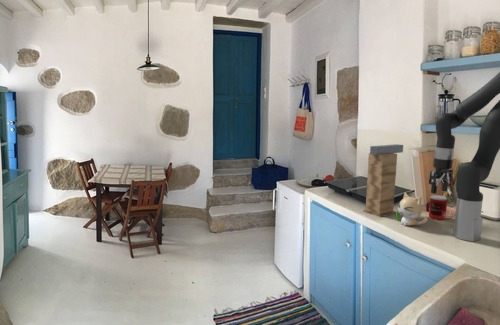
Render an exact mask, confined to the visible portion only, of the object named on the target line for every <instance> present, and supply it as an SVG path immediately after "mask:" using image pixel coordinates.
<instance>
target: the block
mask: <svg viewBox="0 0 500 325" xmlns="http://www.w3.org/2000/svg"><path fill="white" fill-rule="evenodd" d="M369 148H370V149H369V151H370V152H369V153H370V154H374V155H380V154H391V153H395V154H399V153H401V154H402V153H404V144H386V145H381V144H380V145H371V146H370V147H369Z"/></svg>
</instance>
